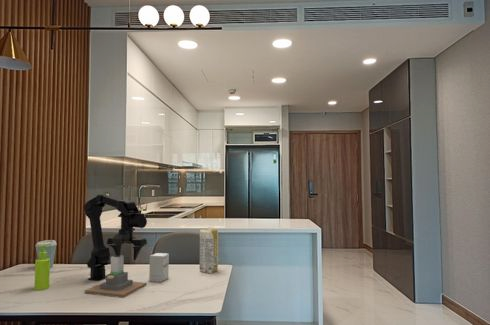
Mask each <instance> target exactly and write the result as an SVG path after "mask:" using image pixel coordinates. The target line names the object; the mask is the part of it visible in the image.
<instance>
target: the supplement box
mask: <svg viewBox="0 0 490 325" xmlns="http://www.w3.org/2000/svg"><path fill="white" fill-rule="evenodd" d="M169 254H170V253H165V252H156V253H154V254H151V255H149V275H148V276H149V277H148V278H149V279H148V281H149V282H154V281H155V282H156V283H163V282H164V281H165V280H167V279H169V268H170V267H169V260H170V259H169V258H170V257H169V256H170V255H169ZM155 282H154V283H155Z"/></svg>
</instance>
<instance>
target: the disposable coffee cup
mask: <svg viewBox="0 0 490 325" xmlns="http://www.w3.org/2000/svg"><path fill="white" fill-rule="evenodd" d="M42 244H52V245H48V246H45V251H47V258H49V259H50V269H52V268H53V266H54V262H55V256H56V248H57V245H58V244H57V242H56V240H54V239H47V240H41V241H38V242H37V243H36V244H35V250H36V254H37V259H39V252H40V251H41V247H39V245H42Z"/></svg>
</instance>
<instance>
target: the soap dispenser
mask: <svg viewBox="0 0 490 325" xmlns="http://www.w3.org/2000/svg"><path fill="white" fill-rule="evenodd" d="M48 245H52V244H42V245H39V247H41V251H40V252H39V259H38V258H37V259H35V261H34V262H35V264H34V291H43V290H47V289H49V288H50V273H51V270H50V269H51V268H50V259H49V258H47V251H45V246H48Z"/></svg>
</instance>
